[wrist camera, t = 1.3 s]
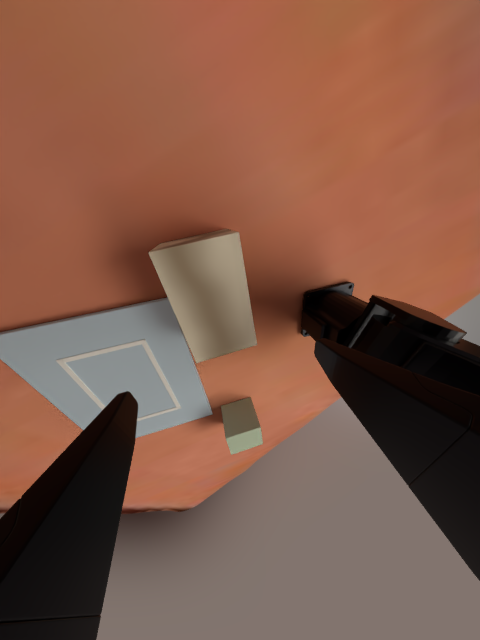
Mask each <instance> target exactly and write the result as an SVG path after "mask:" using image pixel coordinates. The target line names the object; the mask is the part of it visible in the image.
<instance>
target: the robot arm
mask: <svg viewBox="0 0 480 640" xmlns="http://www.w3.org/2000/svg"><path fill="white" fill-rule="evenodd" d="M353 288H354V284H353V283H351V282H346V283H342V284H338V285H333V286H329V287H324V288H320V289H316V290H311V291H307V292H306V293H305V294H304V300H303V310H302V320H301V327H302V330H301V334H302V335H303V336H304V337H306V336H311V337H312V338H313V339H314V340H315V341H316V342H315V350H314V354H315V357H316V358H317V360H318V362H319V363H320V365H321V367H322V368H323V370H324V372H325V373H326V375H327V377H328V378H329V380H330V382H331V383H332V384H333V386H334V387H335V389H336V390H337V391H338V393H339V394H340V395H341V397H342V398H343V399H344V401H345V402H346V403H347V405H348V406H349V407H350V409H351V410H352V411H353V413H354V414H355V415H356V417H357V418H358V419H359V421H360V422H361V423H362V425H363V426H364V427H365V429H366V430H367V431H368V433H369V434H370V435H371V437H372V438H373V439H374V441H375V442H376V443H377V445H378V446H379V447H380V449H381V450H382V451H383V453H384V454H385V455H386V457H387V458H388V459H389V461H390V462H391V463H392V465H393V466H394V467H395V469H396V470H397V471H398V473H399V474H400V476H401V477H402V478H403V480H404V481H405V482H406V483H407V485H408V486H409V488H410V489H411V490H412V492H413V493H414V494H415V496H416V497H417V498H418V500H419V501H420V502H421V504H422V505H423V506H424V508H425V509H426V511H427V512H428V513H429V514H430V516H431V517H432V519H433V520H434V521H435V522H436V524H437V525H438V526H439V528H440V529H441V531H442V532H443V533H444V535H445V536H446V537H447V538H448V540H449V541H450V543H451V544H452V545H453V547H454V548H455V549H456V551H457V552H458V553H459V555H460V556H461V557H462V559H463V560H464V561H465V563H466V564H467V565H468V567H469V568H470V569H471V570H472V572H473V573H474V574H475V576H476V577H477V578H478V579H479V580H480V346H478V345H476V344H474V343H471V342H469V341H466V340H464V339H462V338H463V336H465V335H466V334H467V332H465V331H463V330H462V329H460V328H458V327H456V326H455V325H453V324H451V323H449V322H448V321H446V320H444V319H442V318H440V317H439V316H437V315H435V314H433V313H431V312H429V311H426V310H423V309H420V308H418V307H415V306H412V305H410V304H407V303H404V302H400V301H396V300H392V299H388V298H384V297H380V296H375V295H372V296H371V298H370V299H369V300H370V302H369V303H367V302H364V301H362V300H360V299H358V298H356V297H354V296H352V292H353ZM309 294H310V295H309ZM308 295H309V297H308ZM305 332H306V333H305ZM137 416H138V402H137V401H136V399H135V398H134V397H133V395H132V394H131V392H129V391H126V392H122V393H119V394H117V395H116V396H115V397H114V398H113V400H112V401H111V402H110V403H109V404H108V405H107V406H106V407H105V408H104V409H103V410H102V411H101V412H100V413H99V414H98V415H97V417H96V418H95V419H94V420H93V421H92V422H91V423H90V424H89V425H88V426H87V427H86V428H85V429H84V430H83V431H82V432H81V434H80V435H79V436H78V437H77V438H76V439H75V440H74V441H73V442H72V443H71V444H70V445H69V446H68V447H67V448H66V450H65V451H64V452H63V453H62V454H61V455H60V456H59V457H58V458H57V459H56V460H55V461H54V462H53V463H52V464H51V465H50V467H49V468H48V469H47V470H46V471H45V472H44V473H43V474H42V475H41V476H40V477H39V478H38V479H37V480H36V481H35V482H34V484H33V485H32V486H31V487H30V488H29V489H28V490H27V491H26V492H25V493H24V494H23V495H22V497H21V499H19V500H17V502H16V503H15V504H14V505H13V506H12V507H11V508H10V509H9V510H8V511H7V512H6V513H5V514H4V515H3V516H2V517H1V519H0V640H96V638H97V633H98V628H99V623H100V617H101V616H100V614H101V612H102V607H103V602H104V597H105V592H106V587H107V582H108V577H109V571H110V566H111V561H112V556H113V551H114V546H115V541H116V535H117V531H118V526H119V521H120V516H121V511H122V506H123V501H124V496H125V491H126V486H127V481H128V476H129V471H130V466H131V461H132V456H133V451H134V445H135V438H136V427H137Z"/></svg>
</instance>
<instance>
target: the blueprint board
mask: <svg viewBox="0 0 480 640" xmlns="http://www.w3.org/2000/svg"><path fill="white" fill-rule="evenodd" d="M0 359H1V360H2V361H3V362H5V363H6V364H7V365H8V366H9V367H10V368H12V369H13V370H14V371H15V372H16V373H17V374H19V375H20V376H21V377H22V378H23V379H24V380H25V381H27V382H28V383H29V384H30V385H31V386H32V387H34V388H35V389H36V390H37V391H38V392H39V393H41V394H42V395H43V396H44V397H45V398H46V399H48V400H49V401H50V402H51V403H52V404H53V405H55V406H56V407H57V408H58V409H59V410H60V411H62V412H63V413H64V414H65V415H66V416H67V417H69V418H70V419H71V420H72V421H73V422H74V423H76V424H77V425H78V426H79V427H80V428H81V429H83V430H84V429H85V428H86V427H87V426H88V425H89V424H90V423H91V422H92V421H93V420H94V419H95V418H96V417H97V415H98V414H99V413H100V412H101V411H102V410H103V409H104V408H105V407H106V406H107V405H108V404H109V403H110V402H111V401H112V400H113V398H114V397H115V396H116V395H117V394H119V393H122V392H126V391H129V392H131V394H132V395H133V397H134V398H135V399H136V401H137V402H138V416H137V427H136V438H137V437H141V436H144V435H147V434H150V433H154V432H157V431H160V430H163V429H167V428H170V427H173V426H176V425H180V424H183V423H186V422H190V421H193V420H196V419H199V418H203V417H206V416H209V415H212V409H211V406H210V404H209V401H208V398H207V396H206V393H205V390H204V388H203V385H202V382H201V379H200V377H199V374H198V371H197V369H196V366H195V363H194V361H193V358H192V355H191V353H190V350H189V347H188V345H187V342H186V339H185V336H184V334H183V331H182V329H181V327H180V324H179V322H178V320H177V317H176V315H175V313H174V310H173V308H172V306H171V304H170V301H169V299H168V297H167V298H162V299H157V300H152V301H148V302H143V303H138V304H133V305H128V306H124V307H119V308H114V309H109V310H105V311H100V312H95V313H90V314H85V315H81V316H76V317H71V318H66V319H61V320H57V321H52V322H47V323H42V324H38V325H33V326H28V327H23V328H18V329H14V330H9V331H4V332H0Z"/></svg>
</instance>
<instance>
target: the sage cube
mask: <svg viewBox="0 0 480 640" xmlns="http://www.w3.org/2000/svg"><path fill="white" fill-rule="evenodd" d="M221 411H222V417H223V424H224V430H225V437H226V441H227V443H228V446H229V449H230V452H231V455H232V454H235V453H238V452H241V451H244V450H247V449H250V448H253V447H255V446H258V445H261V444H263V442H262V434H261V427H260V424H259V421H258V418H257V415H256V412H255V409H254V406H253V403H252V400H251V397H249V398H246V399H242V400H239V401H236V402H232V403H229V404H226V405H222V406H221Z"/></svg>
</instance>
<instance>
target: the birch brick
mask: <svg viewBox="0 0 480 640" xmlns="http://www.w3.org/2000/svg"><path fill="white" fill-rule="evenodd" d="M148 253H149V256H150V258H151V260H152V262H153V265H154V267H155V269H156V272H157V274H158V276H159V278H160V281H161V283H162V285H163V288H164V290H165V292H166V294H167V297H168V299H169V301H170V304H171V306H172V308H173V310H174V313H175V315H176V317H177V320H178V322H179V324H180V327H181V329H182V331H183V333H184V336H185V338H186V340H187V343H188V345H189V347H190V349H191V352H192V354H193V356H194V359H195V361H196V363H199V362H202V361H205V360H209V359H212V358H215V357H219V356H222V355H225V354H229V353H232V352H235V351H238V350H242V349H245V348H248V347H252V346H255V345H257V341H256V334H255V328H254V322H253V316H252V310H251V304H250V298H249V291H248V285H247V279H246V273H245V267H244V261H243V255H242V248H241V242H240V236H239V232H237V231H233V230H229V229H223V230H219V231H214V232H210V233H205V234H201V235H196V236H192V237H187V238H183V239H178V240H174V241H169V242H165V243H160V244H159V245H157V246H156V247H155V248H154V249H152V250H151V251H150V252H148Z"/></svg>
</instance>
